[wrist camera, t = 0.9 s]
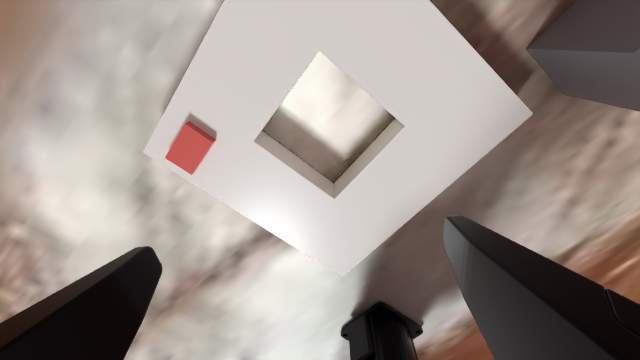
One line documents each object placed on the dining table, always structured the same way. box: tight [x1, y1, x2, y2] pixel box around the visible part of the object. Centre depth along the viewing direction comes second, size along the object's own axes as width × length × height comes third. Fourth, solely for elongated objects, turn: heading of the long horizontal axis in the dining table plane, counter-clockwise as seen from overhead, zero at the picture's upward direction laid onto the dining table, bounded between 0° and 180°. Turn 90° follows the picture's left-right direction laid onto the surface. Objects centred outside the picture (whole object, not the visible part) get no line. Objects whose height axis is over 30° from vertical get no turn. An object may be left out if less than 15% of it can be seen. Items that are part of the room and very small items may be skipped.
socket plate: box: [143, 0, 533, 277], centre depth 19 cm, size 18×18×3 cm
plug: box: [526, 0, 640, 111], centre depth 14 cm, size 4×4×7 cm
